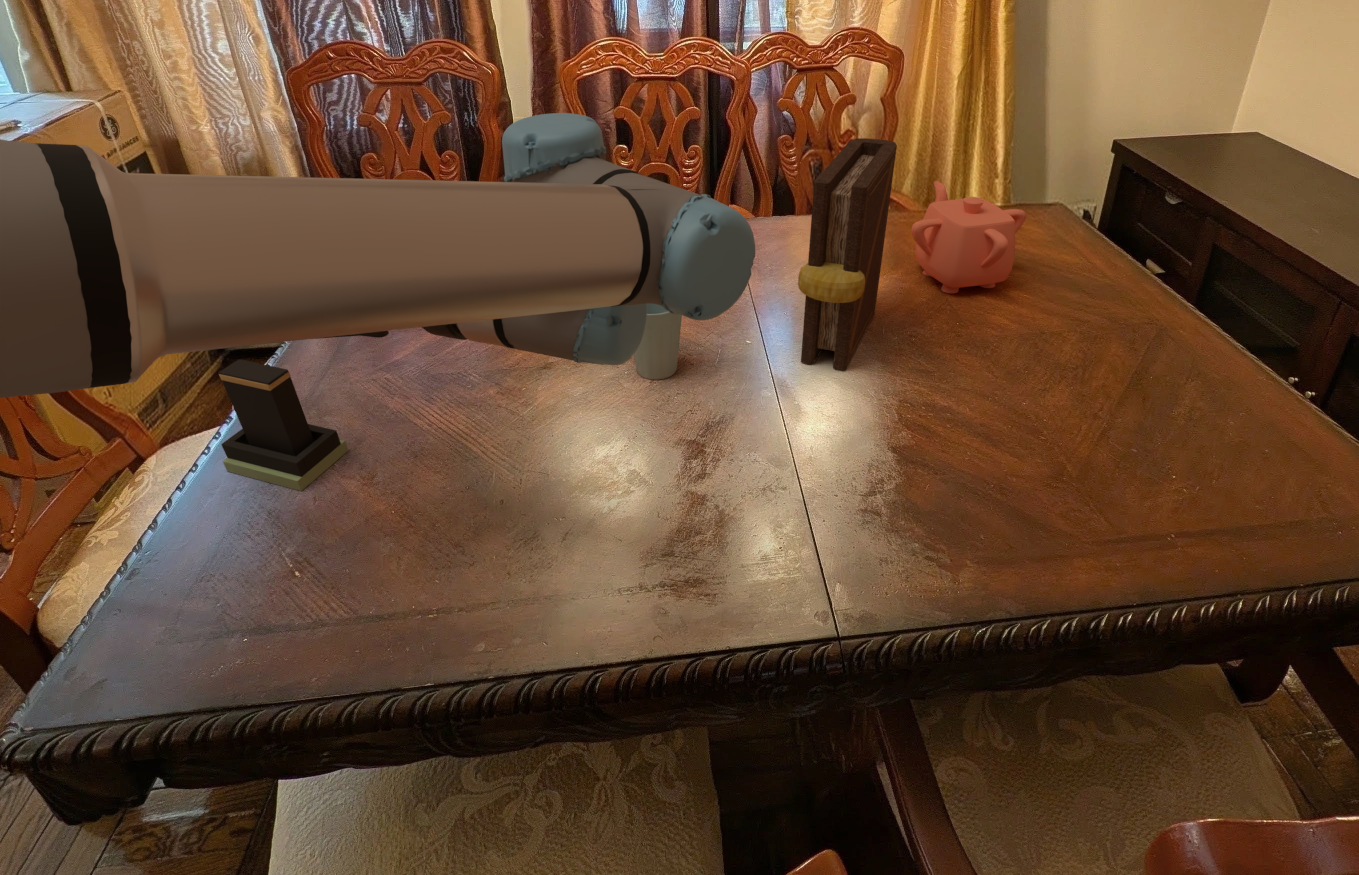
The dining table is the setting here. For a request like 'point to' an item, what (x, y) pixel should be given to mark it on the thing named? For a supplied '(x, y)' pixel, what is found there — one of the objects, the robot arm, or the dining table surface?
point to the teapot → (966, 241)
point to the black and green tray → (284, 459)
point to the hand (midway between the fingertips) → (283, 267)
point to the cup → (659, 344)
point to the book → (846, 249)
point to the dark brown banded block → (267, 407)
